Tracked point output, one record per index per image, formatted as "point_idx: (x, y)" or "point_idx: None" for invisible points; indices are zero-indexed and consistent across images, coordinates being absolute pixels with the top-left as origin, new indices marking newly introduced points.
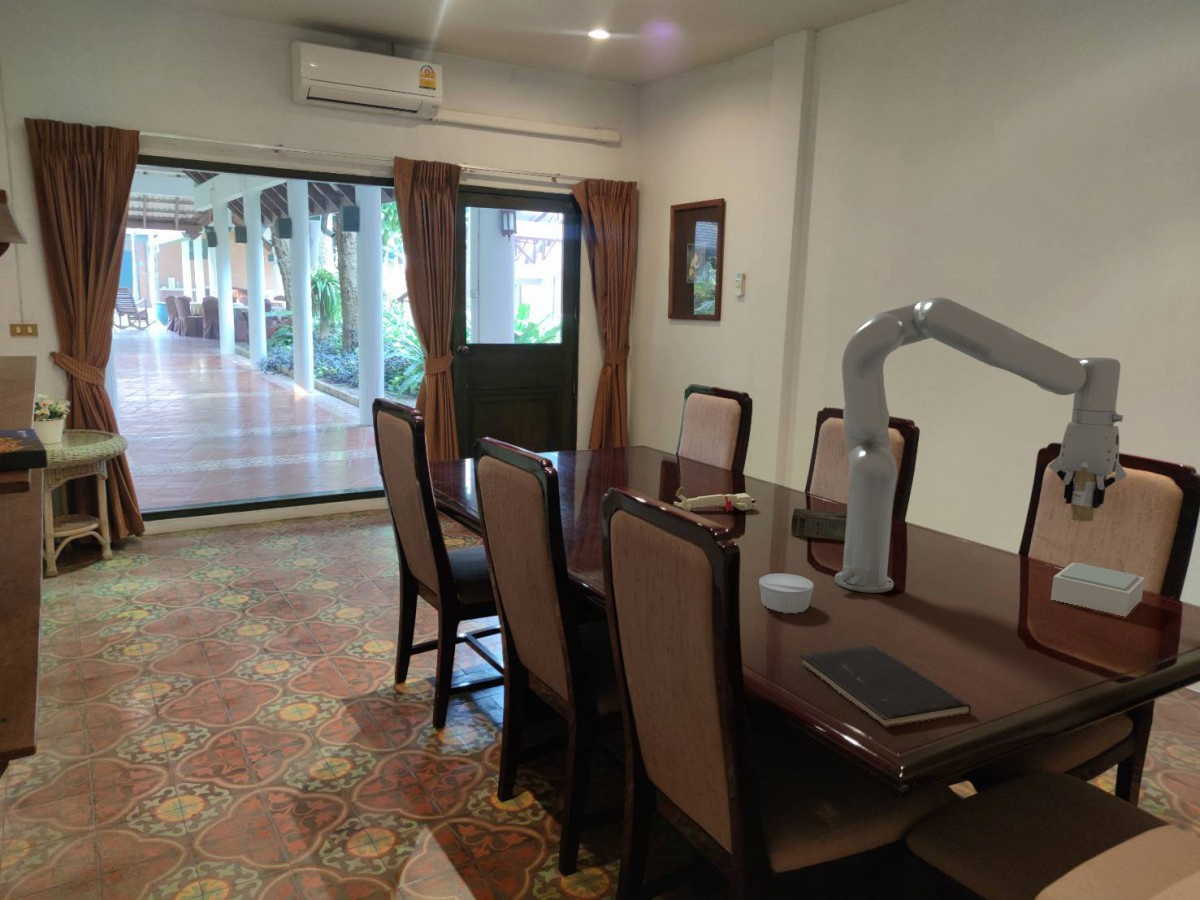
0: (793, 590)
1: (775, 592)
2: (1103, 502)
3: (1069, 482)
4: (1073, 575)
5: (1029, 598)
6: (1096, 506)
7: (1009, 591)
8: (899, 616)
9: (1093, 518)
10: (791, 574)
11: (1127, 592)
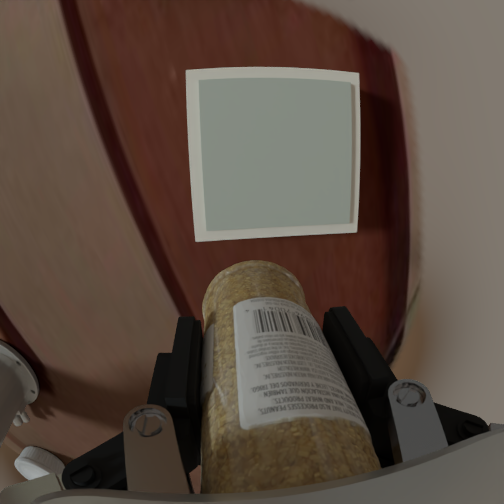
0: None
1: None
2: (367, 339)
3: (189, 475)
4: (233, 214)
5: (164, 242)
6: None
7: (119, 231)
8: (108, 435)
9: (304, 297)
10: (19, 461)
11: (353, 230)
